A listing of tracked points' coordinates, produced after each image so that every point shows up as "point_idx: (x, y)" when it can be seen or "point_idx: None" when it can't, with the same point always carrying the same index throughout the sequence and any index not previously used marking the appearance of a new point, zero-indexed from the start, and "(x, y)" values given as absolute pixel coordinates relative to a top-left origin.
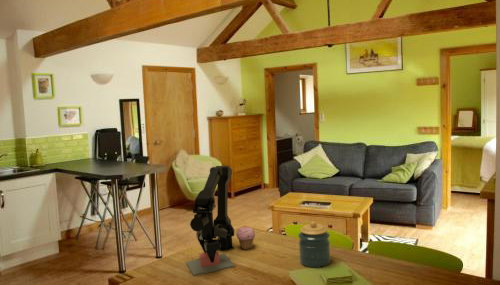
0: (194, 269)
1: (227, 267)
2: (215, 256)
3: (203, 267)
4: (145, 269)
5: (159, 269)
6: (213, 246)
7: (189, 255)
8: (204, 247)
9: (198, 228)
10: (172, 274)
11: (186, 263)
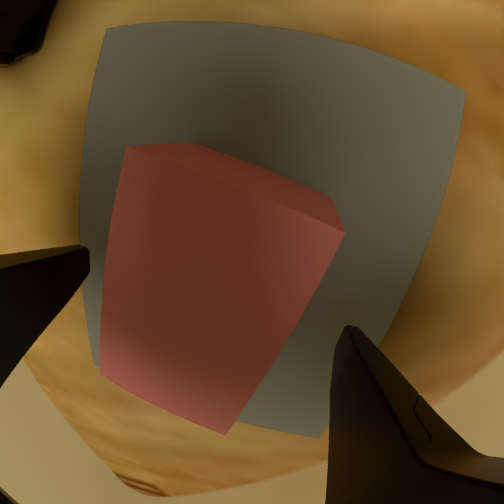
0: (254, 409)
1: (444, 173)
2: (310, 293)
3: None
4: (105, 450)
5: (123, 441)
6: None
7: None
8: (22, 324)
9: None
10: (209, 455)
11: None
